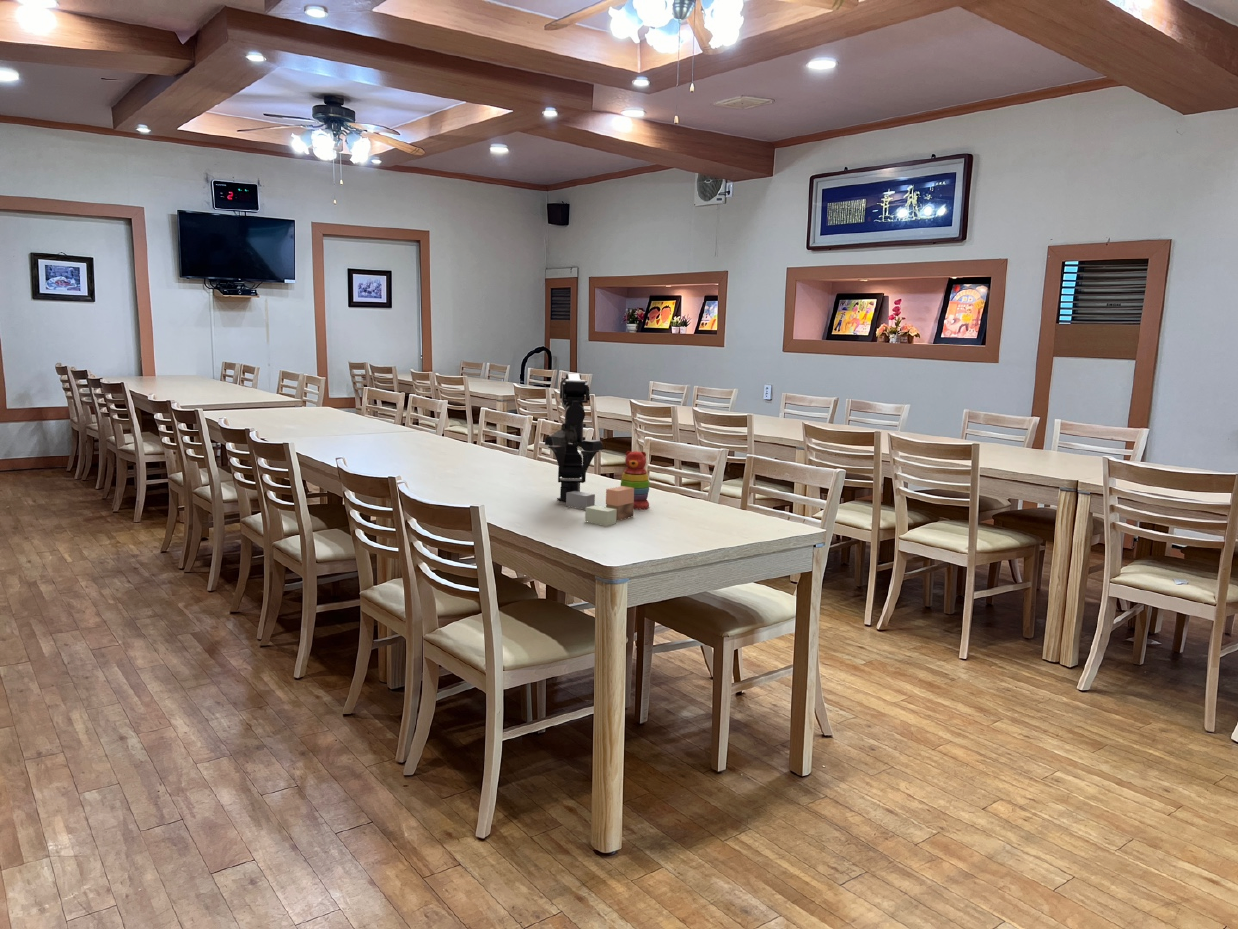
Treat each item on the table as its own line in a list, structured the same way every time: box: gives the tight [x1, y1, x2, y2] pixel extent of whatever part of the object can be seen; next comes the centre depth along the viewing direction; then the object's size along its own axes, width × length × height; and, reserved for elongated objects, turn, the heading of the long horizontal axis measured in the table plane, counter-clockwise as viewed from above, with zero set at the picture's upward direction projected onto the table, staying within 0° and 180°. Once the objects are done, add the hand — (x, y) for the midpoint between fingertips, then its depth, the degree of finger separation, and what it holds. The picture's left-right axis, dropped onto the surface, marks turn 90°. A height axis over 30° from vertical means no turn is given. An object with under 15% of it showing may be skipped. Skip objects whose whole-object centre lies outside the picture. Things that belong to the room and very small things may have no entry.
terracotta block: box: [605, 485, 634, 506], centre depth 264 cm, size 8×4×4 cm, turn 143°
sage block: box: [584, 504, 617, 527], centre depth 257 cm, size 8×4×4 cm, turn 55°
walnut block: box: [605, 503, 635, 521], centre depth 265 cm, size 8×4×4 cm, turn 145°
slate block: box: [565, 491, 596, 510], centre depth 279 cm, size 8×4×4 cm, turn 55°
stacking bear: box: [620, 450, 650, 510], centre depth 283 cm, size 11×10×18 cm
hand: (572, 470), depth 271 cm, fingers open, 9 cm apart
